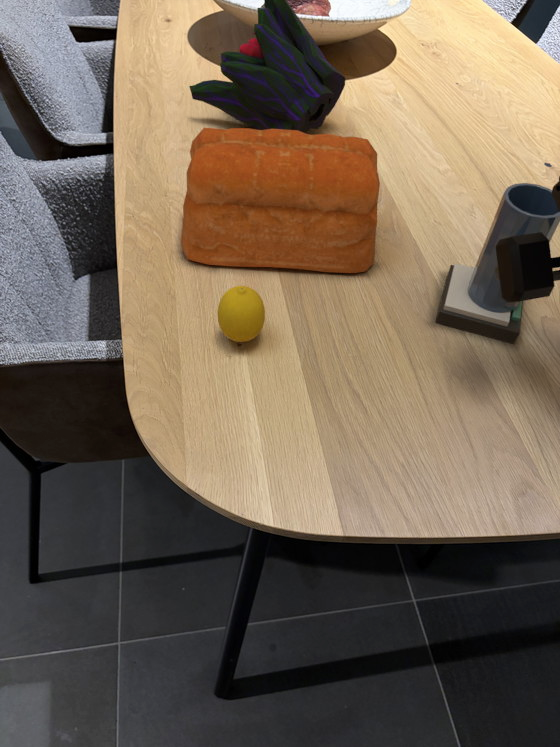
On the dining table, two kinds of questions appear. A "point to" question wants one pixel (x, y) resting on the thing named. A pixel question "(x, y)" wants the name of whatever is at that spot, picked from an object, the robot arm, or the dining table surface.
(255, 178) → the bread
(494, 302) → the tumbler
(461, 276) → the kitchen scale
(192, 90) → the decorative plant
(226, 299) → the lemon
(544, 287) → the robot arm
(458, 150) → the dining table surface
